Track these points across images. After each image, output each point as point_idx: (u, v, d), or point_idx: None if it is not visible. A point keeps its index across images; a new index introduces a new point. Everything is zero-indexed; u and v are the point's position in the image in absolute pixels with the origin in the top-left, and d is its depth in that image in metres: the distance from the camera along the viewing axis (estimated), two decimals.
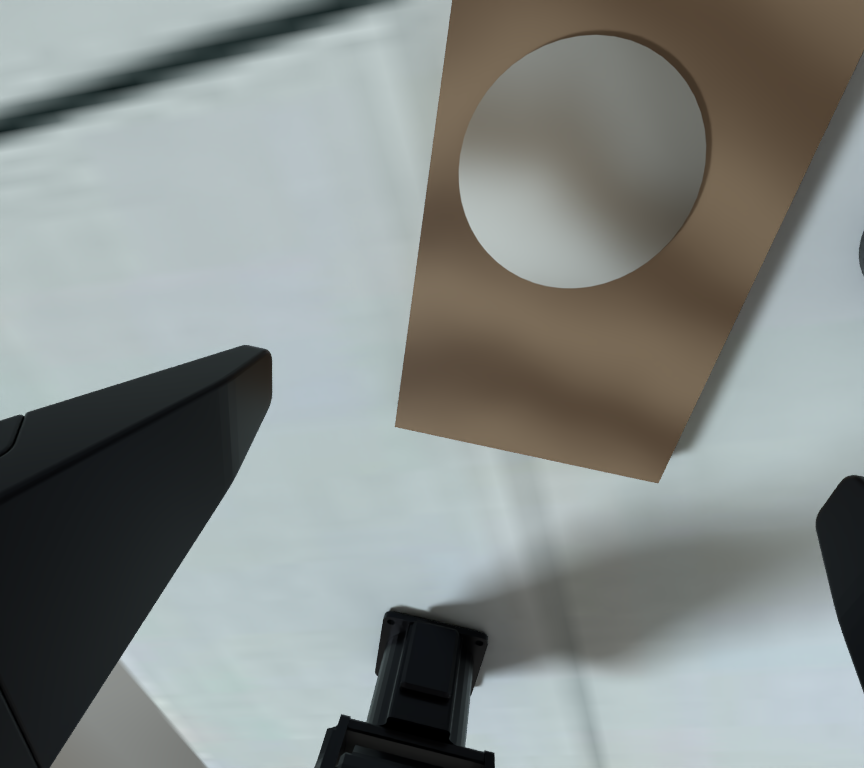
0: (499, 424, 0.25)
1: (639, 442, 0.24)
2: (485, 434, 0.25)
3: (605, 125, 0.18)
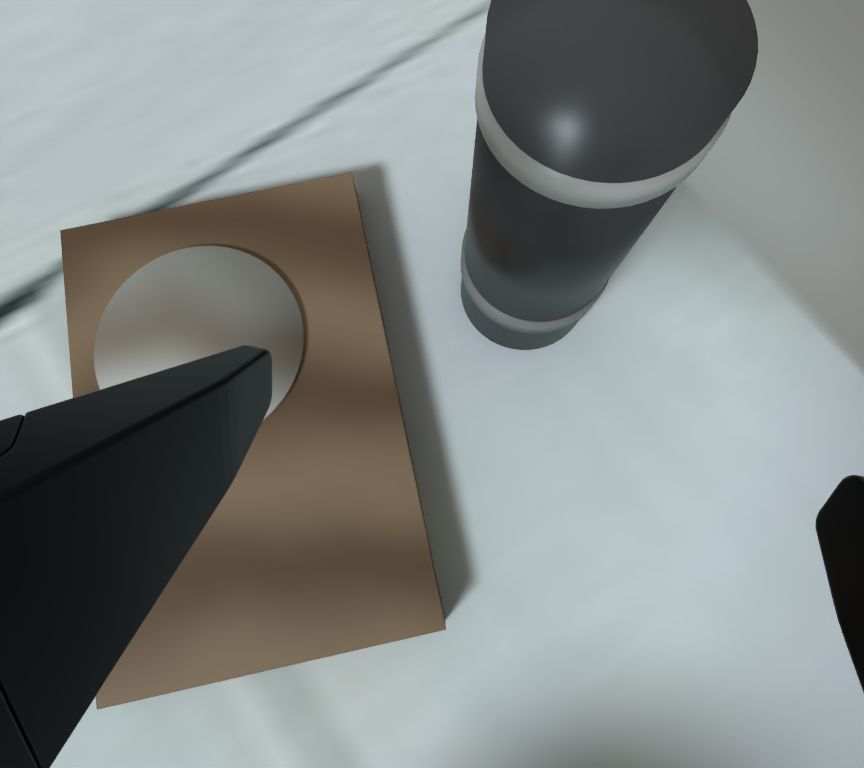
0: (226, 637, 0.19)
1: (392, 581, 0.20)
2: (214, 662, 0.19)
3: (208, 302, 0.22)
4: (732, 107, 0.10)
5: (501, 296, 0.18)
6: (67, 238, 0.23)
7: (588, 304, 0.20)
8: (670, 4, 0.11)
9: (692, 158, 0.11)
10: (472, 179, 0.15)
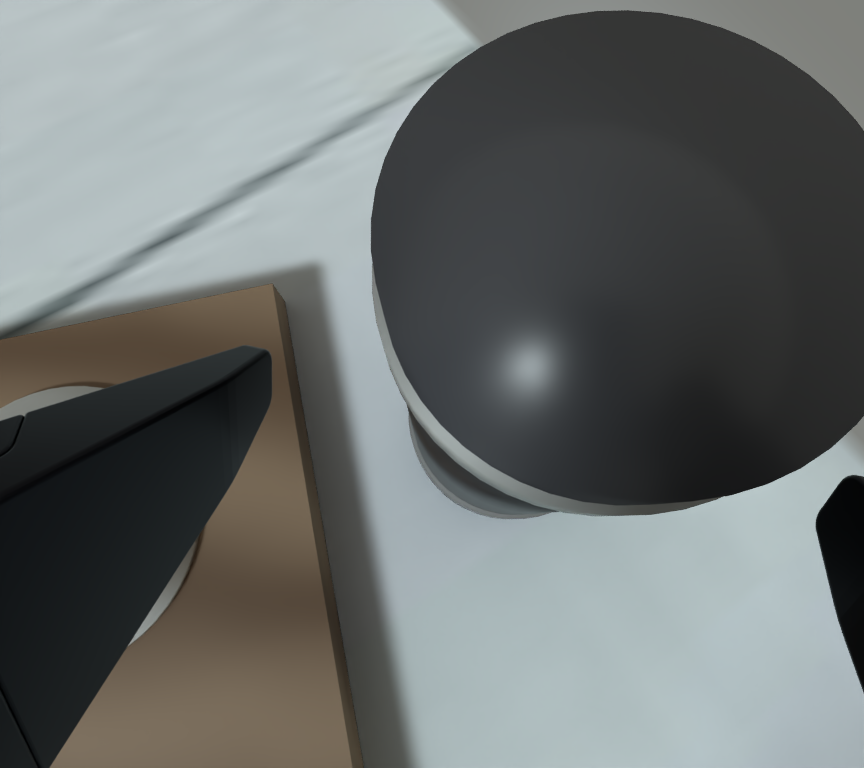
0: None
1: None
2: None
3: None
4: None
5: (458, 494, 0.13)
6: None
7: None
8: (734, 168, 0.06)
9: None
10: None
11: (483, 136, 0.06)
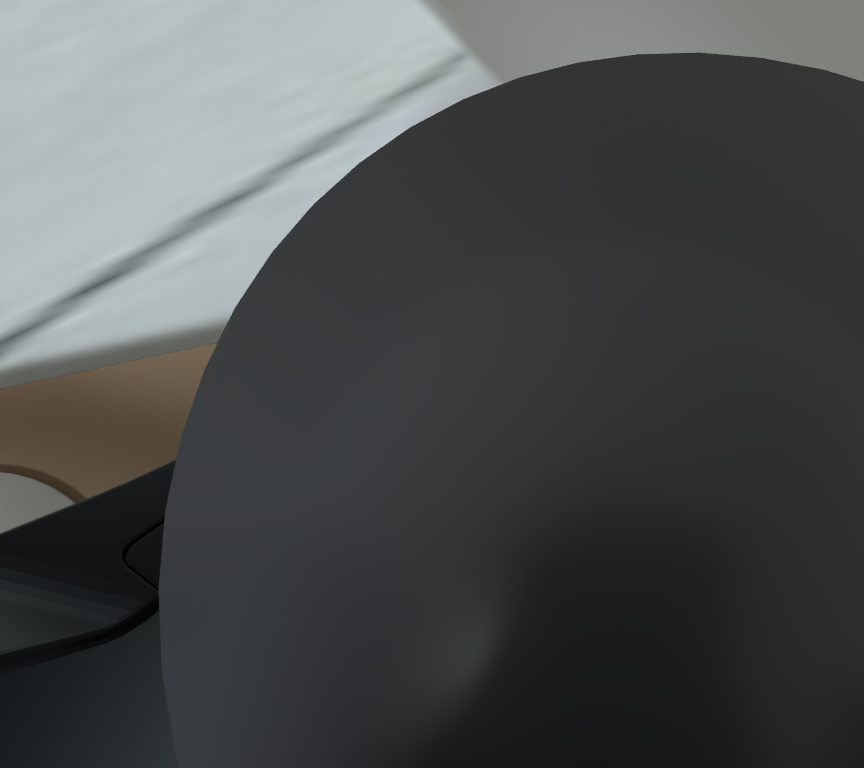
0: None
1: None
2: None
3: None
4: None
5: None
6: None
7: None
8: None
9: None
10: None
11: (409, 319, 0.03)
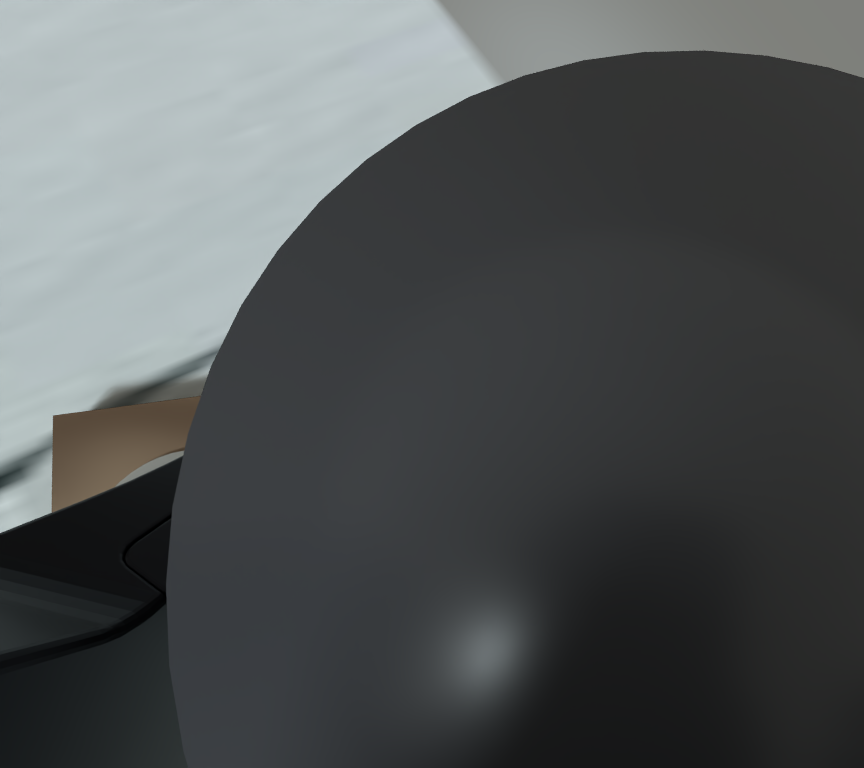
0: None
1: None
2: None
3: None
4: None
5: None
6: (60, 425, 0.21)
7: None
8: None
9: None
10: None
11: (416, 316, 0.03)
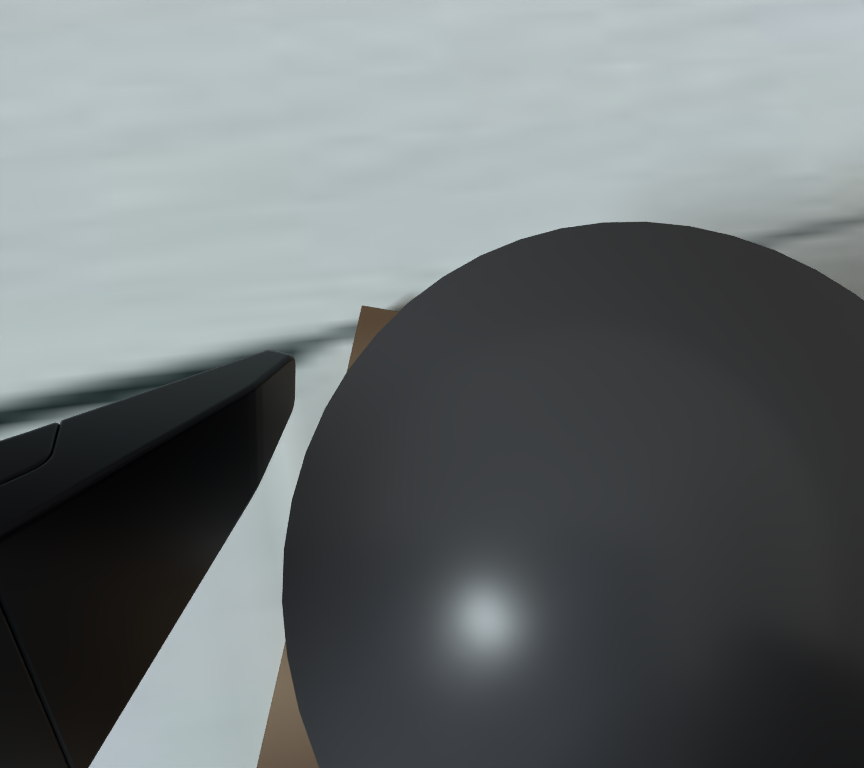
0: None
1: None
2: None
3: None
4: None
5: None
6: (367, 318, 0.18)
7: None
8: (794, 471, 0.04)
9: None
10: None
11: (445, 417, 0.04)
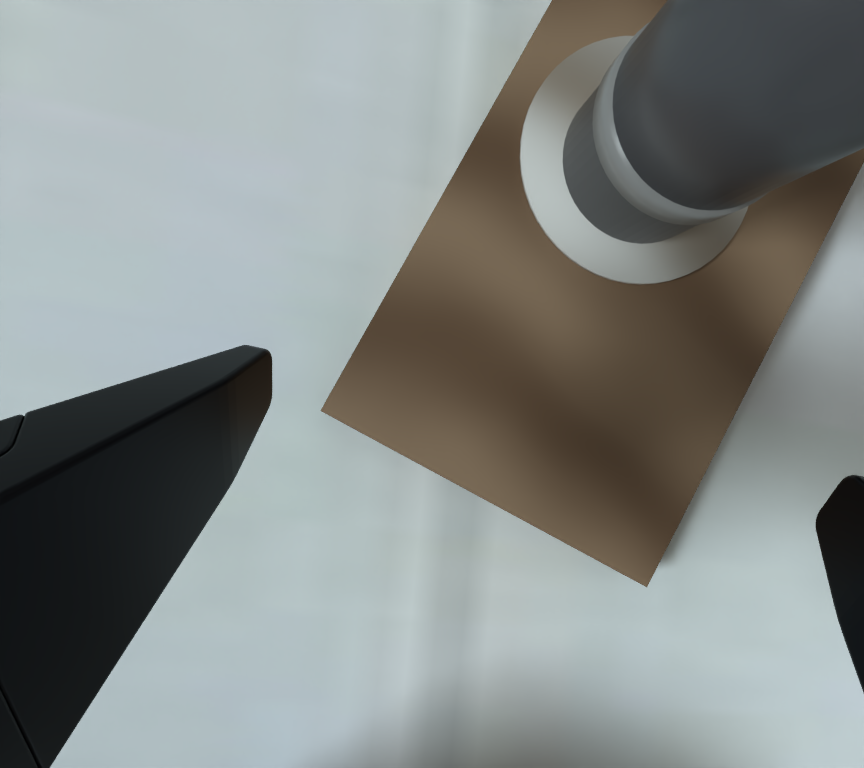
0: (471, 443, 0.18)
1: (636, 514, 0.18)
2: (447, 455, 0.17)
3: None
4: None
5: (659, 146, 0.13)
6: None
7: (743, 204, 0.15)
8: None
9: None
10: None
11: None
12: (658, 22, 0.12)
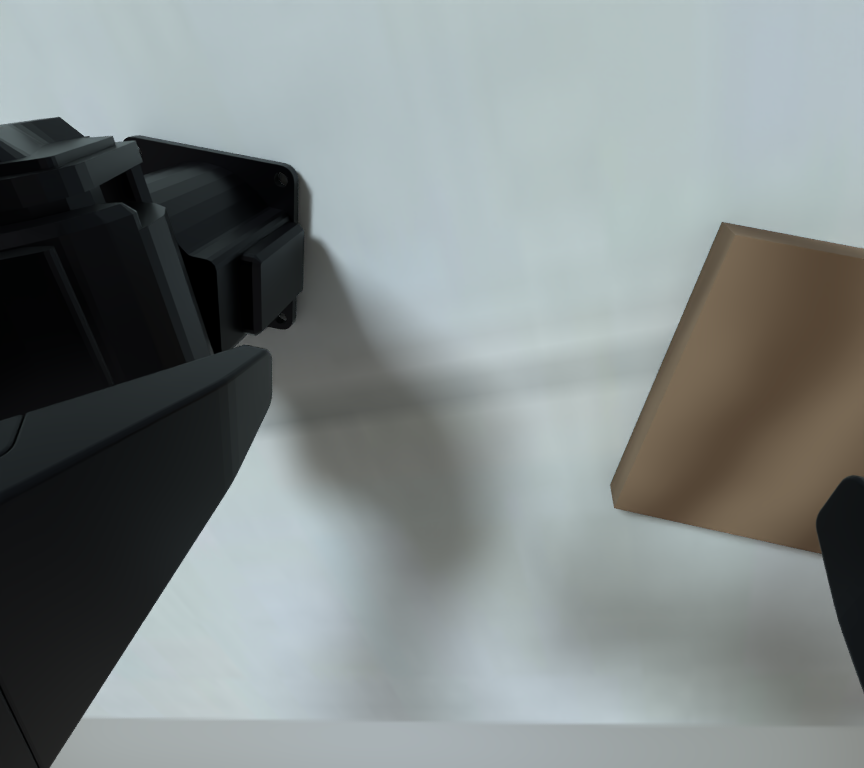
0: (717, 366, 0.20)
1: (671, 492, 0.23)
2: (703, 351, 0.20)
3: None
4: None
5: None
6: None
7: None
8: None
9: None
10: None
11: None
12: None
